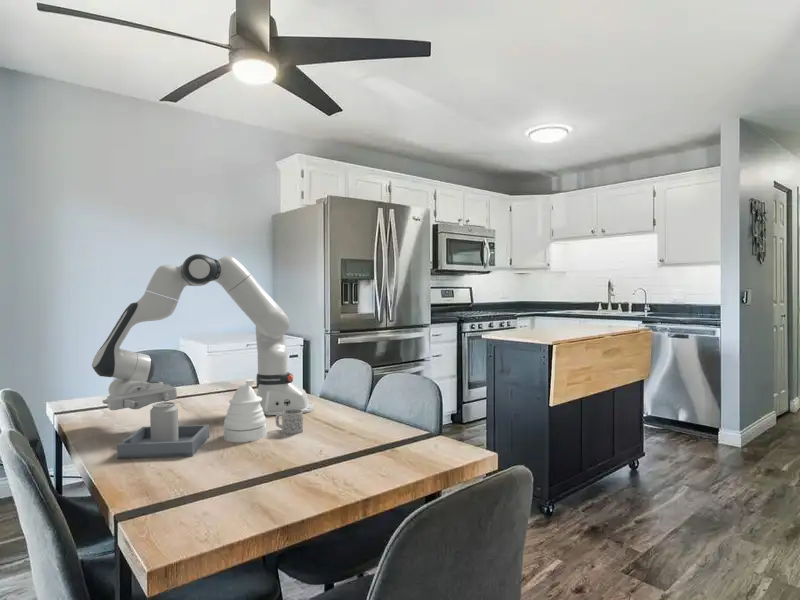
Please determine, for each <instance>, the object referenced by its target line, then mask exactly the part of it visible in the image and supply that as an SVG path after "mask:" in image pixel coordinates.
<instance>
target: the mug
mask: <svg viewBox="0 0 800 600" xmlns="http://www.w3.org/2000/svg"><path fill="white" fill-rule="evenodd" d="M303 415H304V413H303V411H302V410H300V409H289V410H284V411H282V412H280V413H277V414H276V415H275V425H276V427H278V428H279V429H281V433H282V434H284V435H290V436H292V435H298V434H301V433H303V432H304V422H303V421H304V419H303V418H304V416H303ZM280 416H281V423H280Z"/></svg>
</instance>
